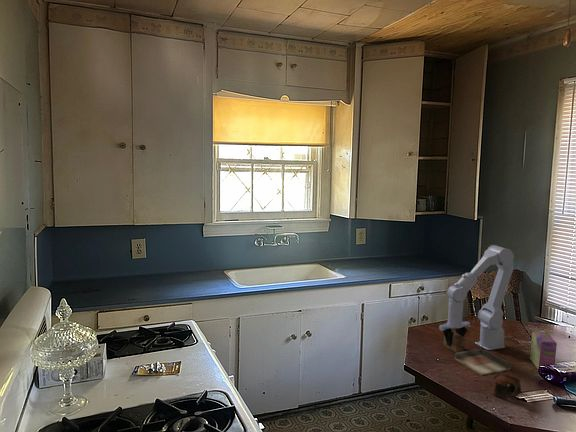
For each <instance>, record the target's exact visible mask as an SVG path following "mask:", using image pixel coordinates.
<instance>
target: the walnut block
mask: <svg viewBox="0 0 576 432" xmlns="http://www.w3.org/2000/svg"><path fill="white" fill-rule="evenodd" d="M452 332H454V334H453V337H452V345H451V346H448V345H447V342H446V338H445V335H444V334H443V342H442V343H443V347H445V348H446V349H449V350H451V351H452V352H453V353H454V354H455V353H457V352H463V351H465V348H466V347H465V345H466V337H465V336H464V337H463V336H461V335H459V334H457V333H456V331H453V330H452Z"/></svg>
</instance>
